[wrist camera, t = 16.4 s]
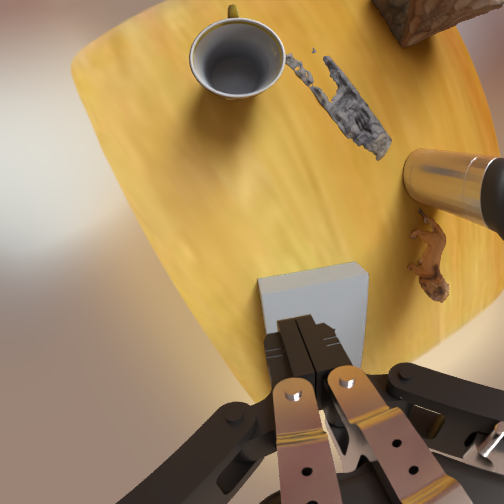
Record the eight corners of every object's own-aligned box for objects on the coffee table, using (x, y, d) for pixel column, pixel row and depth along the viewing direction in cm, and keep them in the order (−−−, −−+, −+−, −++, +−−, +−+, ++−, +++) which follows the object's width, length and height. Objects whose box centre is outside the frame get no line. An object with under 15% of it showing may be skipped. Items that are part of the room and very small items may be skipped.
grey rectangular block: (355, 261, 44) (368, 273, 39) (350, 361, 51) (359, 377, 46) (257, 278, 43) (261, 294, 38) (272, 379, 51) (275, 397, 46)
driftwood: (393, 146, 38) (400, 146, 36) (364, 170, 39) (370, 171, 37) (313, 40, 32) (317, 35, 30) (279, 61, 33) (282, 56, 31)
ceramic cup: (274, 109, 35) (290, 95, 25) (200, 115, 34) (191, 102, 25) (265, 29, 30) (277, -3, 21) (195, 34, 30) (186, 2, 21)
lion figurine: (427, 279, 47) (454, 300, 38) (405, 287, 47) (432, 311, 38) (427, 205, 41) (461, 217, 33) (404, 210, 41) (438, 224, 33)
